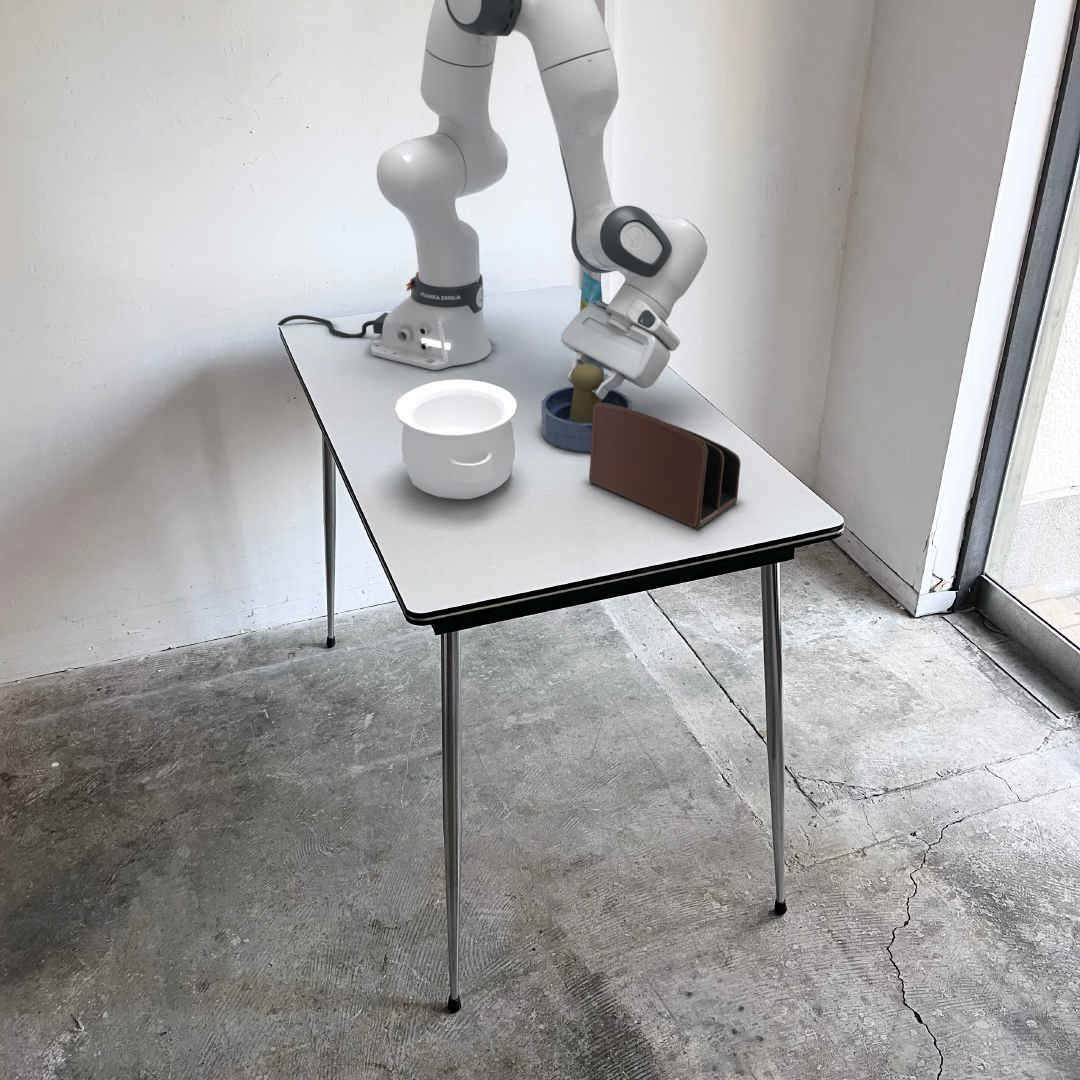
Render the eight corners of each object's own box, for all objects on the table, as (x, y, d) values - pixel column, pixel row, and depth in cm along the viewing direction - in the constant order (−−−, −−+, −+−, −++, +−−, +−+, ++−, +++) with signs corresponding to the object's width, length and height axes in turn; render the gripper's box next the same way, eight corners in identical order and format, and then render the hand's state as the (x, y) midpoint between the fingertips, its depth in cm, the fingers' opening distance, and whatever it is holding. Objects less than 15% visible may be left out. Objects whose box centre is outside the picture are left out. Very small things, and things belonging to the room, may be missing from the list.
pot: (541, 504, 157) (541, 428, 150) (425, 528, 151) (420, 450, 145) (490, 438, 174) (488, 367, 167) (385, 458, 168) (378, 386, 162)
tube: (568, 375, 194) (569, 270, 183) (592, 370, 196) (594, 266, 185) (588, 391, 188) (590, 284, 178) (612, 386, 190) (616, 279, 180)
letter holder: (697, 531, 150) (705, 440, 143) (587, 483, 162) (589, 396, 154) (737, 503, 157) (747, 414, 149) (629, 459, 168) (633, 374, 160)
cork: (602, 440, 172) (603, 376, 166) (564, 436, 173) (564, 373, 167) (607, 423, 177) (609, 360, 171) (571, 420, 178) (571, 357, 172)
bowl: (529, 445, 172) (529, 417, 169) (557, 407, 183) (557, 380, 180) (617, 459, 168) (618, 430, 165) (640, 419, 179) (642, 391, 177)
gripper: (583, 286, 175) (534, 357, 176) (667, 325, 161) (613, 402, 162) (604, 307, 180) (556, 376, 180) (687, 346, 166) (635, 421, 166)
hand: (584, 389), depth 171 cm, fingers closed on cork, 5 cm apart
